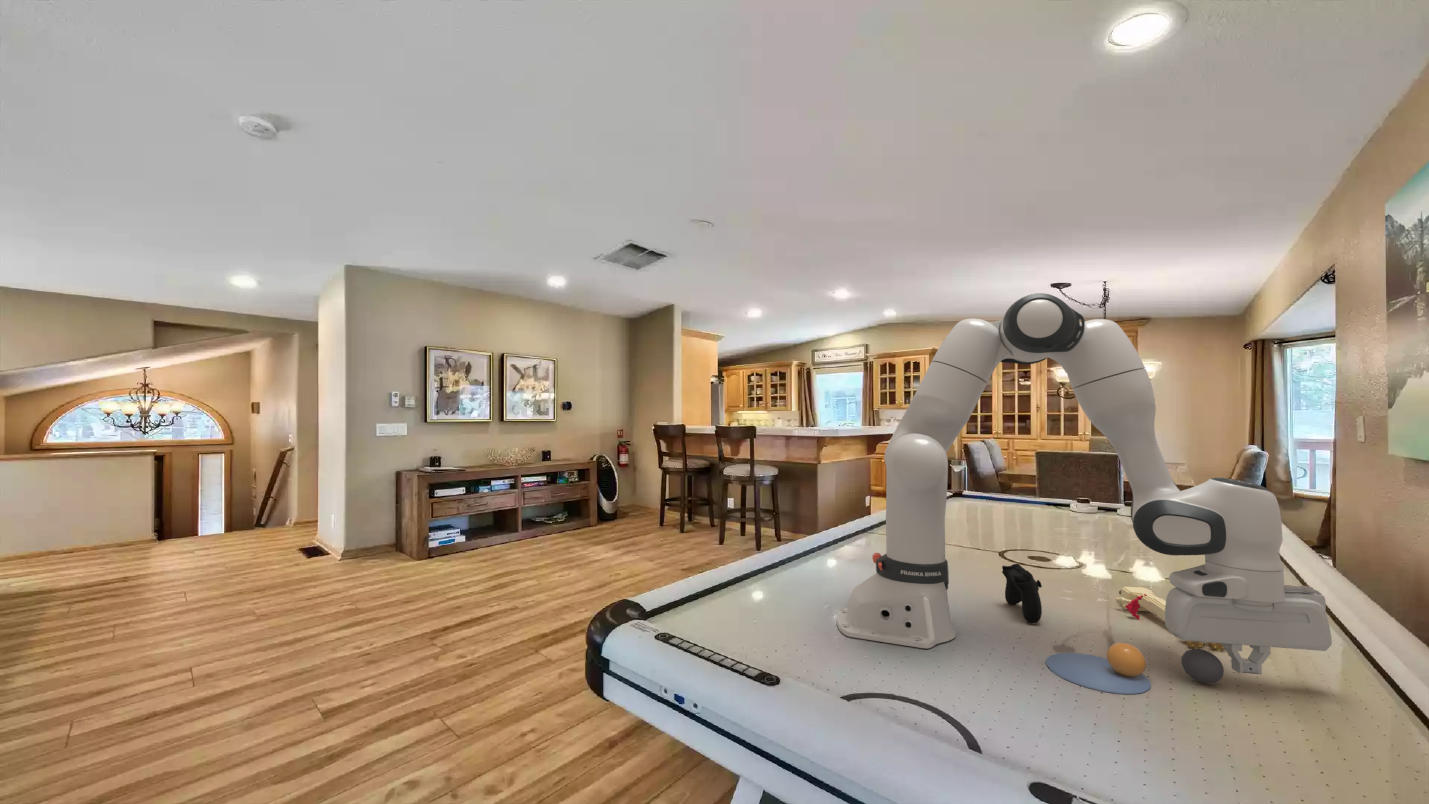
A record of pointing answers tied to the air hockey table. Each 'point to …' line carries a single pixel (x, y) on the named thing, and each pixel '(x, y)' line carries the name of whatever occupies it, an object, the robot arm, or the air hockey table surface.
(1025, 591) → the gaming controller
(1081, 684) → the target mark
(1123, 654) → the object ball
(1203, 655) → the dark grey ball
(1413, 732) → the air hockey table surface
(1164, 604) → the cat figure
